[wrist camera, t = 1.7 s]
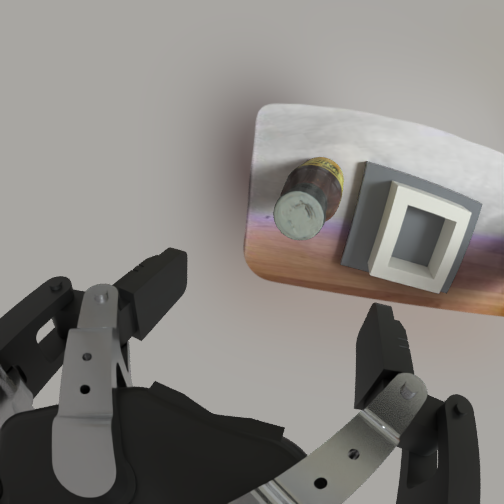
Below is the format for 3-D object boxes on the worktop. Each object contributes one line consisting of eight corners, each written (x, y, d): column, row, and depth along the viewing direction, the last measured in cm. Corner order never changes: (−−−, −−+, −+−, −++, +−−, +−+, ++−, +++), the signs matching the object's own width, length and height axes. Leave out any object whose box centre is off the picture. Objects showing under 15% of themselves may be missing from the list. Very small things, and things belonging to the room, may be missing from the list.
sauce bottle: (344, 157, 35) (350, 178, 18) (342, 199, 38) (343, 258, 20) (298, 155, 37) (261, 173, 20) (298, 196, 40) (263, 250, 22)
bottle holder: (478, 201, 30) (494, 211, 25) (444, 288, 37) (453, 306, 33) (366, 161, 34) (371, 165, 29) (340, 260, 41) (340, 277, 37)
